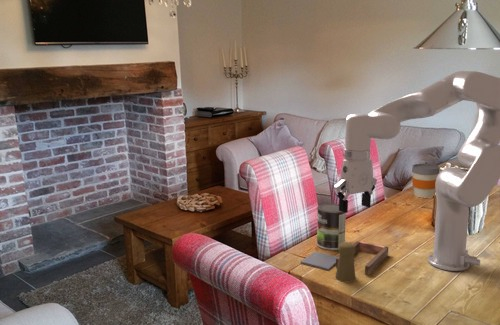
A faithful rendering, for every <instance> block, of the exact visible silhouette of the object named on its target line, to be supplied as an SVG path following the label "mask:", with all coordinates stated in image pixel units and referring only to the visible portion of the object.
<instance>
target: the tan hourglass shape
mask: <svg viewBox="0 0 500 325" xmlns="http://www.w3.org/2000/svg"><path fill="white" fill-rule="evenodd" d="M353 244H354V243H352V242H348V241H345V242H343V243H340V244H339V246H338V250H337V251H338V254H339V255H338V257H339V260H338V266H337V267H336V273H335V279H336V280H338V281H340V282H344V283H345V282H347V283H349V282H353V281H355V280H356V268H355V259H354V256H355V255H354V253H355V246H354V245H353ZM353 255H354V256H353Z"/></svg>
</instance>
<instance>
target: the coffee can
mask: <svg viewBox="0 0 500 325" xmlns="http://www.w3.org/2000/svg"><path fill="white" fill-rule="evenodd" d="M316 209H317V217H316V218H317V219H316V220H317V223H316V224H317V226H316V227H317V229H316V230H317V231H316V233H317V234H316V246H318V248H321V249H323V250H327V251H329V250H330V251H338V246H339V244H340V243H343V242H346V224H347V223H346V221H347V220H346V217H347V213H344V212H342V211H339V203H322V204H320V205H318V206H316Z"/></svg>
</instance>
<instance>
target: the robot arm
mask: <svg viewBox="0 0 500 325" xmlns="http://www.w3.org/2000/svg"><path fill="white" fill-rule="evenodd" d="M462 101H468V102H472V103H475V104H476V106H477V111H478V116H477V121H476V123H475V125H474V127H473V128H472V129H471V132H469V134H468V136H467V137H466V139H465V141H464V142H463V144H462V145H461V147H460V148H459V150H458V152H457V160H458V162H459V163H460V164H461V165H462V166H463V167H465V168H468V170H467V171H465V170H464V169H460V168H457V167H447V168H444V169H442V170H441V171H439V174H438V176H437V178H436V183H435V188H436V189H435V194H436V195H435V196H436V211H435V213H436V214H435V224H434V225H435V226H434V238H433V240H434V242H433V253H429V255H428V256H427V262H428V263H429V264H430V265H431V266H433V267H434V268H435V267H436V268H437V269H439V270H443V271H449V272H451V271H452V272H461V271H466V270H468V269H469V268H470V267H471V265H474V266H478V267H479V266H480V265H481V259H478V256H474V255H470V254H469V250H468V249H467V241H468V240H467V239H468V231H469V230H468V229H469V218H470V208H473V207H477V206H479V205H481V204H482V203H483V202H484V201H485V200H486V199H487V198H488V196H490V194H491V193H492V191H493V189H494V188H495V186H496V185H497V183H498V182H499V180H500V77H498V76H494V75H491V74H488V73H484V72H481V71H480V72H479V71H476V70H475V71H473V70H472V71H470V70H469V71H468V70H467V71H466V70H461V71H460V70H459V71H456V72H453V73H451V74H449V75H446V76H445V77H444V78H440V79H439V80H437V81H435V82H433V83H431V84H429V85H428V86H426V87H424V88H422V89H420V90H418V91H415V92H412V93H409V94H407V95H405V96H402V97H400V98H397V99H394V100H392V101H389V102H387V103H385V104H383V105H381V106H379V107H378V108H375V109H373V110H372V111H371V112H369V113H368V114H365V113H350V114H348V115H347V117H346V119H345V133H344V134H345V139H344V152H343V154H342V155H343V157H344V159H342V160H343V161H342V165H341V170H340V178H339V179H340V181H338V182H337V183H336V184H334V186H333V190H334V192H335V195H336V197H337V199H338V200H339V202H338V204H339V211H342V212H344V213H346V214H348V211H349V199H348V197H350V194H351V195H355V194H359V193H361V206H363V207H366V208H371V202H372V201H371V200H372V198H371V197H372V196H373V191H374V190H375V189H376V185H377V182H378V180H377V178H375V177H374V167H373V160H372V159H371V146H372V145H371V143H372V139H379V140H391V139H393V138H396V136H398V135H399V134H400V132H401V129H402V125H401V123H403V122H407V121H410V120H416V119H417V120H419V119H424V118H429V117H433V116H435V115H436V114H438V113H441V112H442V111H444V110H446V109H448V108H450V107H452V106H454V105H456V104H458V103H460V102H462Z"/></svg>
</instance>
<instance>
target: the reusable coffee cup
mask: <svg viewBox="0 0 500 325" xmlns="http://www.w3.org/2000/svg"><path fill="white" fill-rule="evenodd" d="M411 168H412V169H411V172H412V177H411V178H412V179H411V182H412V183H411V184H412V187H413V193H414V194H413V195H415V196H418V197H424V198H427V197H433V196H434V197H435V194H436V188H435V183H436V178H437V176H438V174H439V173H440V166H438V165H437V164H436V165H435V164H430V163H416V164H413V165H412V167H411ZM415 196H414V197H415Z"/></svg>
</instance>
